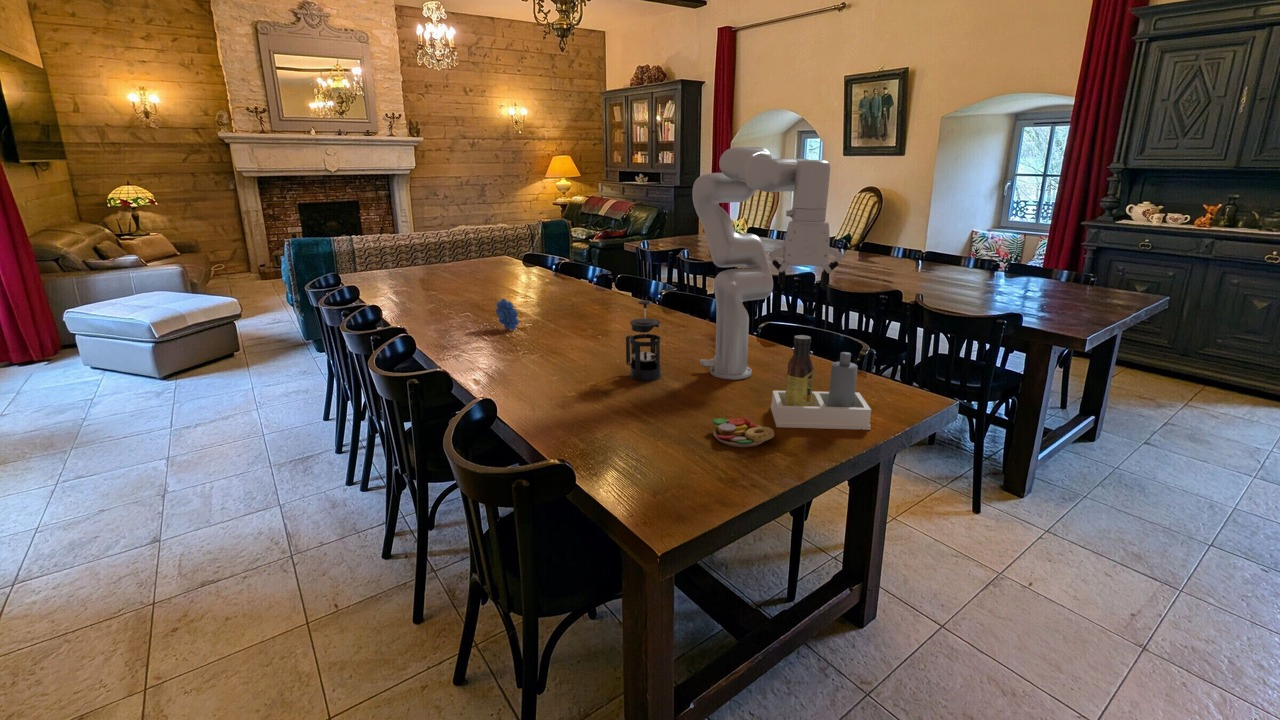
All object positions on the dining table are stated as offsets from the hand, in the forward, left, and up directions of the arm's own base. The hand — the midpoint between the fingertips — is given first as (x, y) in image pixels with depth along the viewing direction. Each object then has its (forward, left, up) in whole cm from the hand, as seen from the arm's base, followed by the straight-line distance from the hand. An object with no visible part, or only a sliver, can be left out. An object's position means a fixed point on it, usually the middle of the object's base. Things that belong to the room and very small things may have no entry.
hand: (802, 288), depth 147 cm
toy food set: (-15, -18, -32) cm, 40 cm away
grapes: (-99, +73, -32) cm, 127 cm away
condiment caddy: (+5, -6, -32) cm, 33 cm away
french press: (-41, +23, -32) cm, 57 cm away
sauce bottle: (0, -5, -31) cm, 31 cm away
